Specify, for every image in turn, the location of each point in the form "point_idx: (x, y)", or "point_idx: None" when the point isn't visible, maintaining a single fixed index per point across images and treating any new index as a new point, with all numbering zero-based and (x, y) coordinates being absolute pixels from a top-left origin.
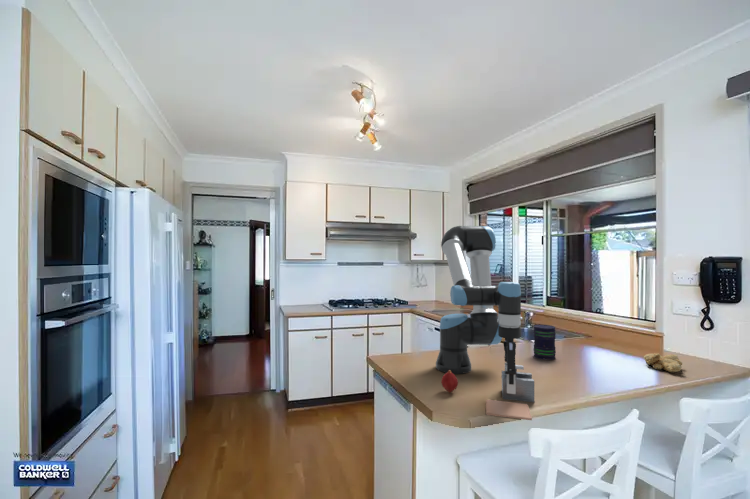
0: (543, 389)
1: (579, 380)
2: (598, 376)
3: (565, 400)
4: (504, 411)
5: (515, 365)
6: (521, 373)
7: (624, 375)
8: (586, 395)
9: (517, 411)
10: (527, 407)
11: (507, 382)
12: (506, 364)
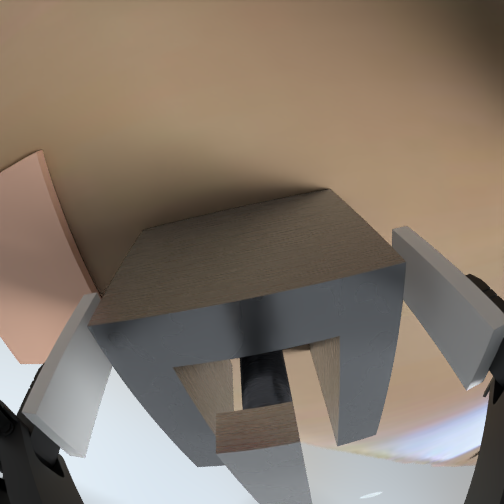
0: (401, 365)
1: (480, 398)
2: None
3: None
4: None
5: (278, 491)
6: (351, 411)
7: None
8: (366, 443)
9: (23, 324)
10: None
11: (55, 353)
12: (272, 455)
